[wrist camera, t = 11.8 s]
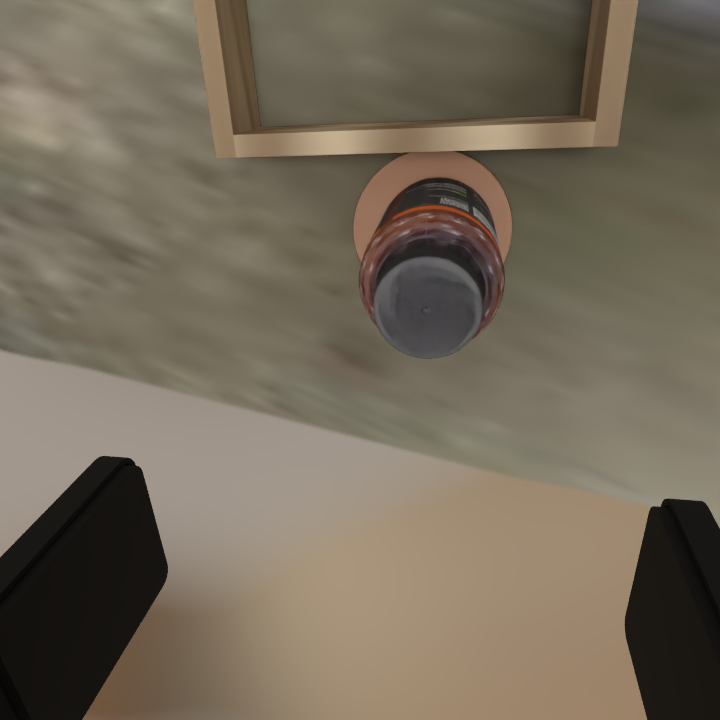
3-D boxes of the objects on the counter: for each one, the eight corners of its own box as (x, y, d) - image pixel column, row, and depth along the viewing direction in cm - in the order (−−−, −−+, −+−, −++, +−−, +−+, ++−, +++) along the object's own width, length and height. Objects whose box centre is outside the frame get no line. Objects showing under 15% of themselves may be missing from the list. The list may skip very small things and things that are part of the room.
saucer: (517, 145, 29) (517, 146, 28) (506, 303, 32) (506, 307, 32) (351, 150, 30) (349, 152, 29) (359, 301, 34) (357, 305, 33)
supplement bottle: (396, 295, 32) (365, 394, 22) (369, 190, 30) (322, 249, 20) (504, 273, 31) (521, 370, 21) (484, 161, 29) (494, 210, 19)
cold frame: (636, -159, 23) (666, -200, 19) (598, 136, 28) (617, 146, 24) (211, -110, 26) (171, -138, 22) (245, 148, 31) (216, 158, 27)
